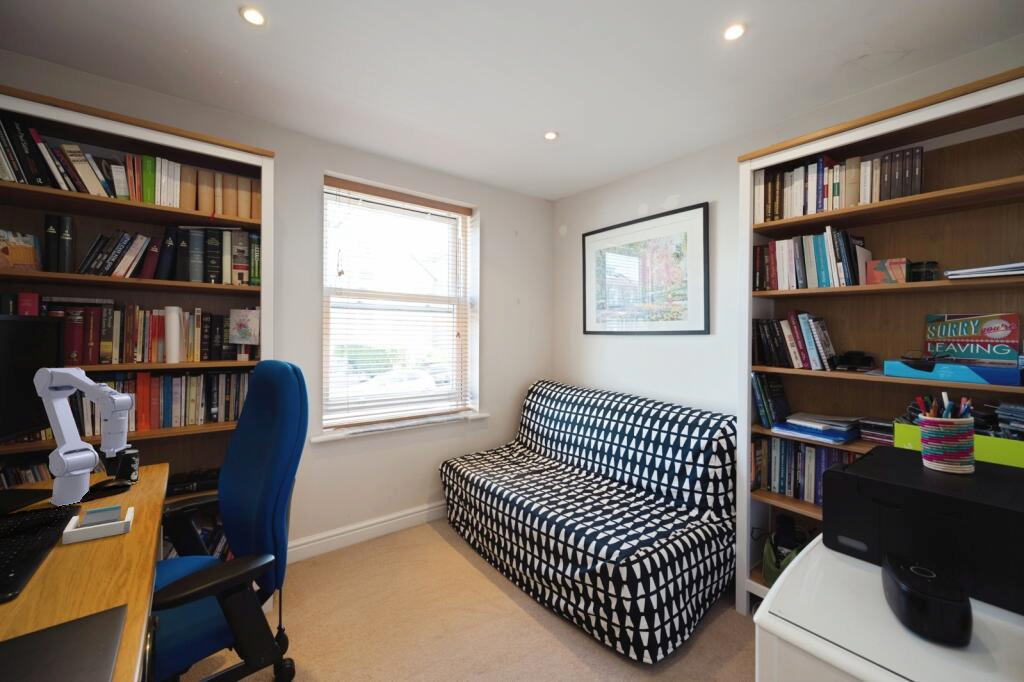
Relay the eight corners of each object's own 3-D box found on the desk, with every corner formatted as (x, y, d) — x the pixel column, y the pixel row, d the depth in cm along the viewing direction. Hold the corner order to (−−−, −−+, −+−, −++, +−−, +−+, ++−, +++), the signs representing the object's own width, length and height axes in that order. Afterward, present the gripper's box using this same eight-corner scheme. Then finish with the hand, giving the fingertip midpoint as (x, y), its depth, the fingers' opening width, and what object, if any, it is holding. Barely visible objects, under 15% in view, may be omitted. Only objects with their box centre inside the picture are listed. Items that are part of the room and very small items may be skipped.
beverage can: (125, 487, 145) (127, 453, 146) (107, 487, 146) (109, 453, 146) (142, 482, 152) (144, 449, 152) (125, 481, 152) (127, 449, 153)
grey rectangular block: (86, 524, 114) (87, 509, 114) (120, 518, 119) (121, 504, 119) (79, 537, 107) (80, 521, 107) (116, 530, 111) (117, 515, 111)
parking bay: (72, 527, 112) (72, 516, 112) (133, 517, 120) (134, 506, 120) (62, 544, 103) (63, 532, 103) (129, 532, 110) (130, 520, 110)
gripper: (129, 434, 126) (127, 479, 126) (133, 427, 137) (131, 468, 137) (97, 437, 122) (94, 483, 121) (104, 429, 133) (101, 471, 132)
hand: (112, 475), depth 129 cm, fingers closed
